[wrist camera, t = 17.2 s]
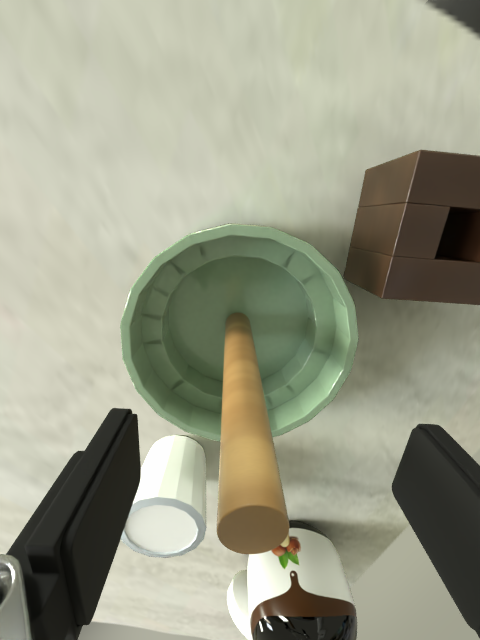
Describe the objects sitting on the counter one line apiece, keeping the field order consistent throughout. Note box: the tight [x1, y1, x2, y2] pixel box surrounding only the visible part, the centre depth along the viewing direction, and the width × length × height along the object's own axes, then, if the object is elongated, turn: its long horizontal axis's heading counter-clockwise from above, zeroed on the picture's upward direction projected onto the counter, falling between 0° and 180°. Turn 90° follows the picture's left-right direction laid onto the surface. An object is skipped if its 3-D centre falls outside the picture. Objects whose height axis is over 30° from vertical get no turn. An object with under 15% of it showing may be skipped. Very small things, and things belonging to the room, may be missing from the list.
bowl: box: [120, 223, 359, 441], centre depth 21 cm, size 15×15×6 cm
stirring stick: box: [217, 313, 290, 554], centre depth 15 cm, size 2×2×16 cm
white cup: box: [121, 435, 206, 558], centre depth 25 cm, size 7×7×7 cm
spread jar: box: [227, 521, 357, 640], centre depth 28 cm, size 12×11×12 cm
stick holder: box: [344, 150, 480, 305], centre depth 18 cm, size 8×8×6 cm
